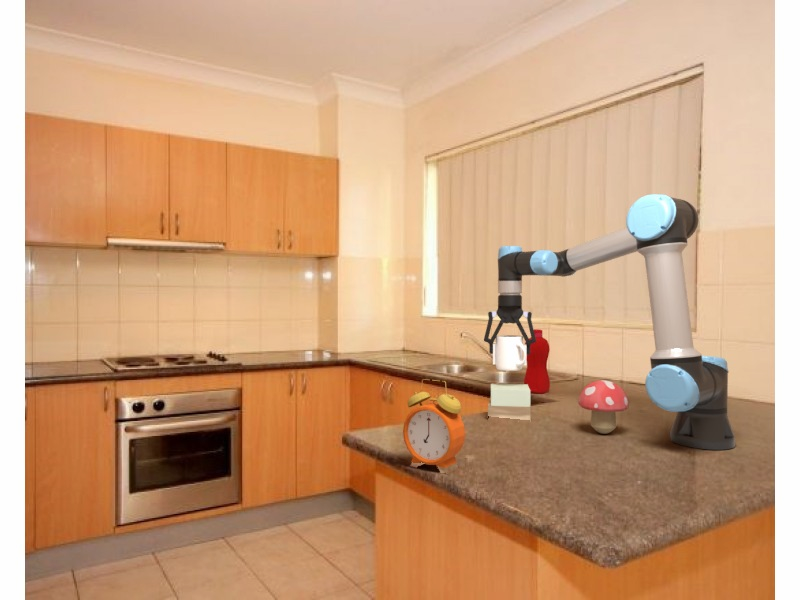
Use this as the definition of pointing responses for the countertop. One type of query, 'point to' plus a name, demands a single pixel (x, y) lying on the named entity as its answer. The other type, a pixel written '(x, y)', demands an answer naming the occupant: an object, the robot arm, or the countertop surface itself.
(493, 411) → the tower base
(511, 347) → the mug
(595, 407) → the decorative mushroom
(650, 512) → the countertop surface
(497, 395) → the tower top
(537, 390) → the water bottle
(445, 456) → the alarm clock
